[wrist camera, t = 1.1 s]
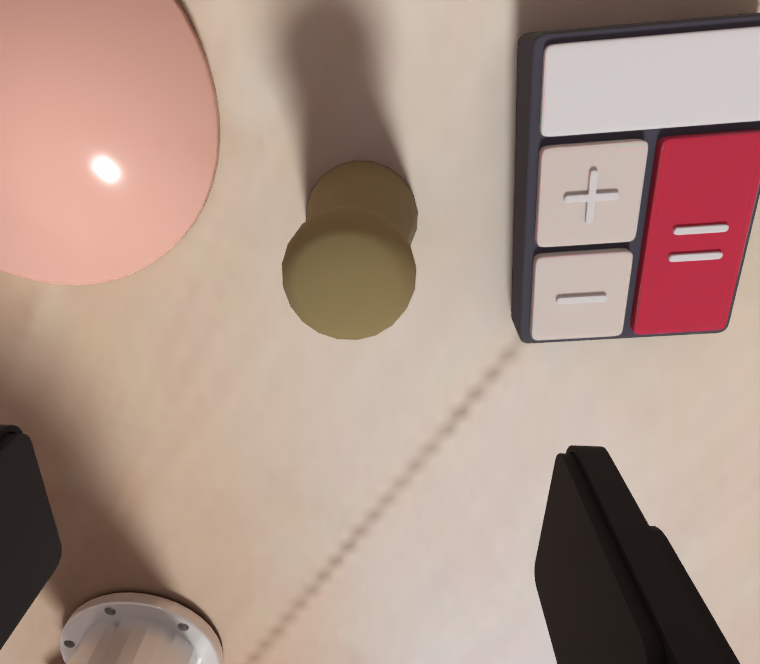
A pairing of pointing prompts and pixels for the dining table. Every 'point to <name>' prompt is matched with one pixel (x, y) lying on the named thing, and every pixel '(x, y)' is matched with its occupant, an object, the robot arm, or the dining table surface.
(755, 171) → the calculator
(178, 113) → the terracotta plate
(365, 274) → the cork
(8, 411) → the dining table surface
